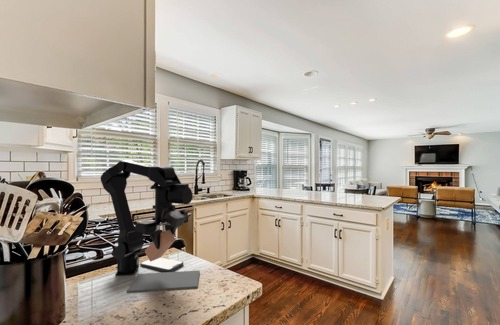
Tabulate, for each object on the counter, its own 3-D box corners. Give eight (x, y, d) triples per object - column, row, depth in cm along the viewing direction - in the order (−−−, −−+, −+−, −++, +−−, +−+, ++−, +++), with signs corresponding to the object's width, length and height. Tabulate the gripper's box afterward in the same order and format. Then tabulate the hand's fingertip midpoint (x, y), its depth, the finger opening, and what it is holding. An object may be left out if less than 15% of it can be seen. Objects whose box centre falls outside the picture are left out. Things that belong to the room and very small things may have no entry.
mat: (126, 292, 79) (126, 290, 79) (138, 275, 91) (138, 273, 91) (197, 288, 82) (197, 286, 82) (199, 272, 94) (199, 270, 94)
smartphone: (138, 267, 99) (169, 274, 92) (138, 263, 99) (169, 270, 92) (155, 259, 107) (185, 265, 100) (155, 255, 107) (185, 261, 100)
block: (144, 251, 89) (159, 232, 85) (154, 247, 93) (169, 229, 89) (150, 261, 87) (165, 243, 83) (160, 257, 91) (175, 239, 87)
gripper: (157, 208, 75) (157, 260, 75) (199, 200, 91) (199, 243, 91) (134, 205, 81) (133, 253, 81) (177, 198, 97) (177, 238, 97)
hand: (163, 246), depth 87 cm, fingers closed on block, 4 cm apart
